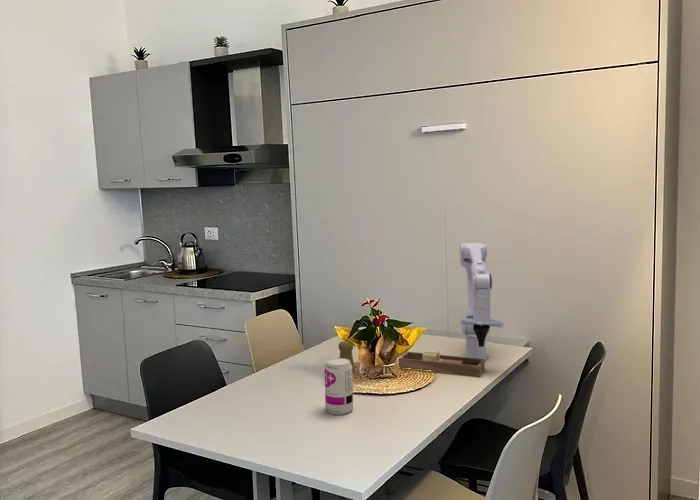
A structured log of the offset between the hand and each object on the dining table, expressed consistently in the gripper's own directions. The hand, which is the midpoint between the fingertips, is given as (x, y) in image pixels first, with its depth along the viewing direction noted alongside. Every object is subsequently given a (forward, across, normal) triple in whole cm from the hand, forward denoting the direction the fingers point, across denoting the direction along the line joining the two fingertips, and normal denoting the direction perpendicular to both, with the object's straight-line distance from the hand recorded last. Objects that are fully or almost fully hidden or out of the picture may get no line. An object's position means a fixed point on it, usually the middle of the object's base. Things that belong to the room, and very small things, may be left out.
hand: (481, 346), depth 217 cm
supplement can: (+10, -33, -49) cm, 60 cm away
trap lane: (+9, -14, -1) cm, 17 cm away
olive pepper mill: (+10, -45, -15) cm, 48 cm away
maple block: (+7, -18, -1) cm, 19 cm away
